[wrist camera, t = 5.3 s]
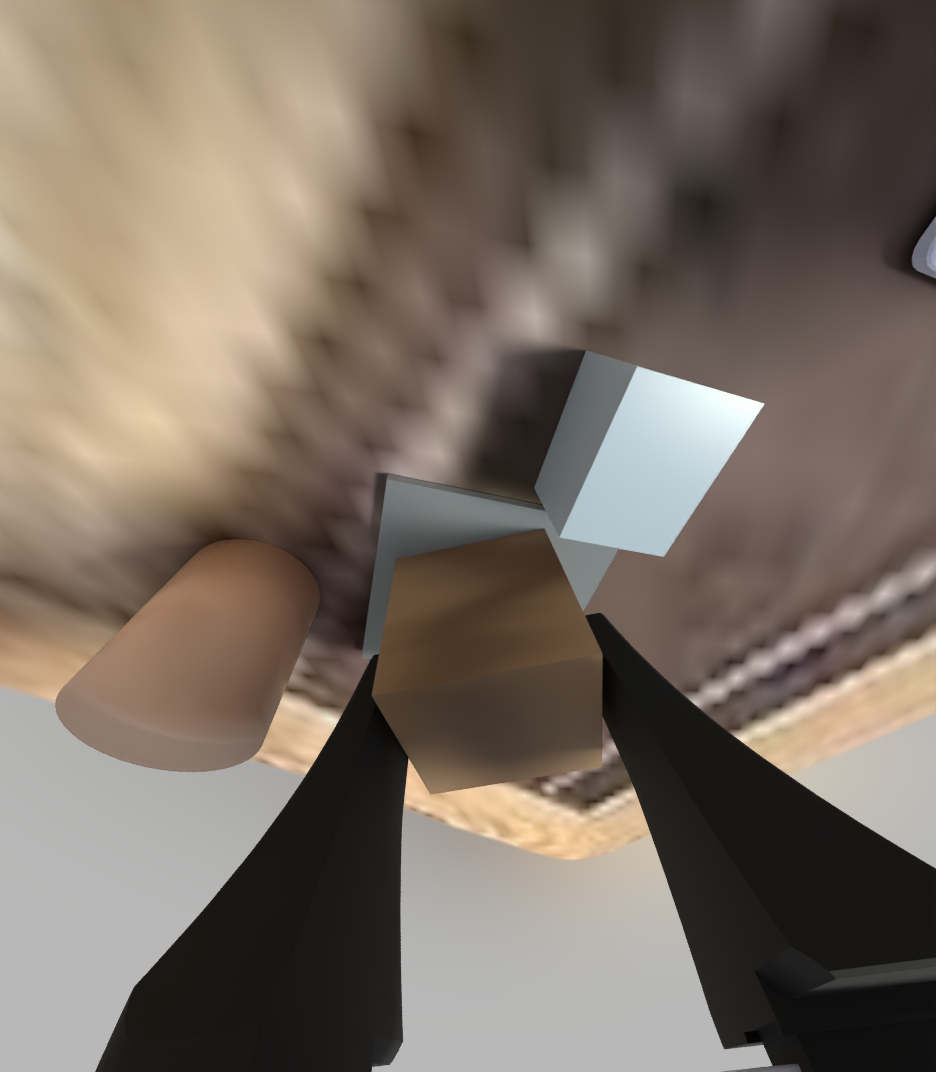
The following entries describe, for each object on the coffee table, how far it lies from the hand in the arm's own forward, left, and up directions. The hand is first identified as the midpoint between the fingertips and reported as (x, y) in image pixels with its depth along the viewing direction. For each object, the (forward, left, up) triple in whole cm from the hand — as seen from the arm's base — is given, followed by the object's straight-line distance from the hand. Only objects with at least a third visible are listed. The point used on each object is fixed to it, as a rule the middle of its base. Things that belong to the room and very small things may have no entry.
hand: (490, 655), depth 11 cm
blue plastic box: (-2, -6, -3) cm, 7 cm away
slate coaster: (0, 0, -3) cm, 3 cm away
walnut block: (0, 0, -2) cm, 3 cm away
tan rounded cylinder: (+8, +2, -3) cm, 9 cm away
